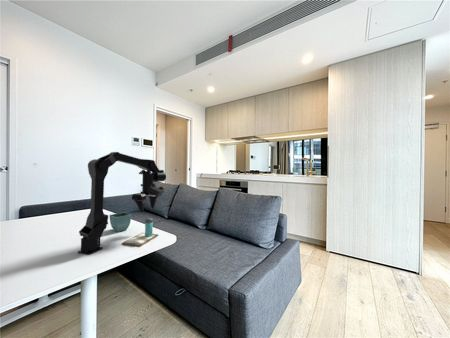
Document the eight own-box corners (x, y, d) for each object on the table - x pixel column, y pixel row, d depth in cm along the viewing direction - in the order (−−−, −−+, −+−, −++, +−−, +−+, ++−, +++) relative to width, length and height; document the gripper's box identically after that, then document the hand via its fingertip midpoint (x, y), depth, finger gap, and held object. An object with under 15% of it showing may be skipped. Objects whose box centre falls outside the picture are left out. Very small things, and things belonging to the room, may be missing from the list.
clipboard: (140, 246, 87) (140, 243, 87) (121, 244, 90) (121, 241, 90) (158, 235, 102) (158, 233, 102) (142, 233, 104) (142, 231, 104)
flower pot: (115, 233, 103) (115, 217, 103) (108, 230, 108) (108, 214, 108) (131, 230, 110) (131, 214, 110) (124, 226, 115) (124, 212, 115)
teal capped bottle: (149, 237, 97) (150, 220, 97) (143, 236, 98) (143, 219, 98) (154, 234, 101) (154, 218, 101) (147, 234, 102) (148, 217, 101)
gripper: (150, 184, 94) (149, 215, 94) (169, 181, 112) (169, 207, 112) (131, 183, 97) (130, 213, 97) (153, 180, 115) (152, 206, 115)
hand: (147, 210), depth 105 cm, fingers open, 9 cm apart
